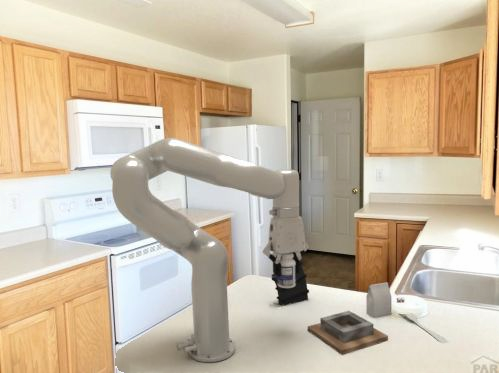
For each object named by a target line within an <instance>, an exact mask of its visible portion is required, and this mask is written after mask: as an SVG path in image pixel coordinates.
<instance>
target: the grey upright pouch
mask: <svg viewBox="0 0 499 373" xmlns="http://www.w3.org/2000/svg"><path fill="white" fill-rule="evenodd" d="M368 286H369V287H368V290H367V294H366V296H365V297H366V315H368V316H369V317H370V318H372V319H377V318H381V317H386V316H391V315H392V294H391V289H390V287H389V282H387V281H386V282H381V283H375V284H370V285H368Z"/></svg>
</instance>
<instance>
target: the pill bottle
mask: <svg viewBox="0 0 499 373" xmlns="http://www.w3.org/2000/svg"><path fill="white" fill-rule="evenodd" d="M292 258H293V253H287V254H281V257H280V261H279V263H280V264H281V277H277V283H278V286H279V287H282V288H292V287H295V285H296V262H295V260H293V259H292Z"/></svg>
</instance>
